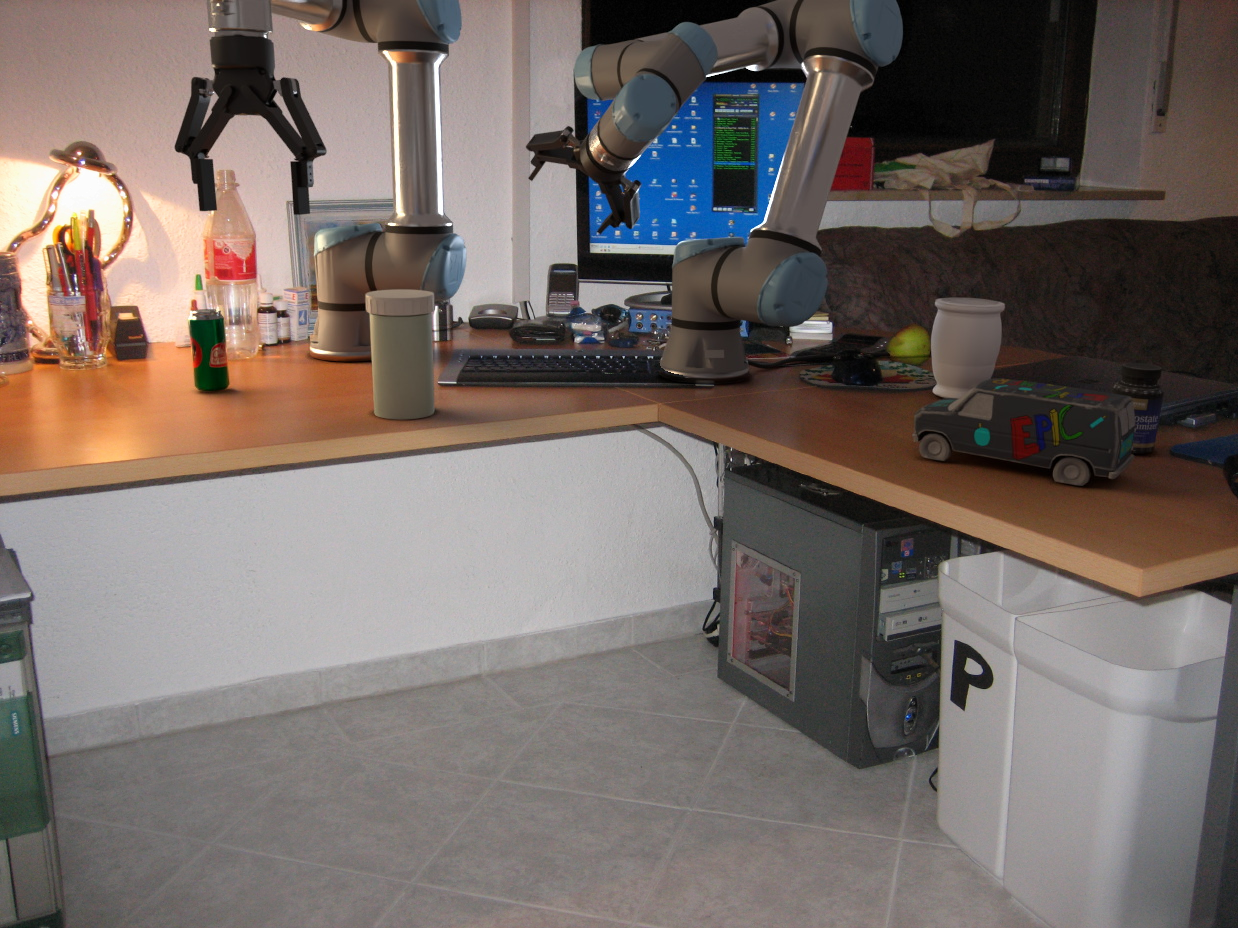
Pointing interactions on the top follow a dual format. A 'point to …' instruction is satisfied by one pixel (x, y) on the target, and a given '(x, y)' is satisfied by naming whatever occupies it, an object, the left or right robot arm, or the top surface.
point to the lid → (400, 302)
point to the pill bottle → (1142, 401)
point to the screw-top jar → (402, 366)
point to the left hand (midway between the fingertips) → (254, 213)
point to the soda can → (209, 350)
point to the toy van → (1033, 428)
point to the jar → (964, 343)
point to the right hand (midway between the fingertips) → (568, 200)
